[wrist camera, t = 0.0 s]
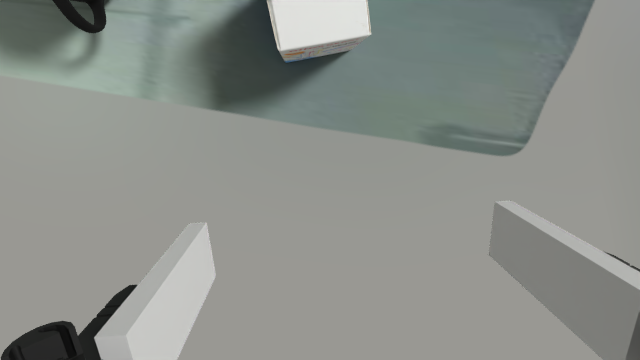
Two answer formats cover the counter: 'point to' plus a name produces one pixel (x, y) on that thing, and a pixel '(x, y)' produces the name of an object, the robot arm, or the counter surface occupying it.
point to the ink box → (318, 26)
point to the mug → (72, 15)
